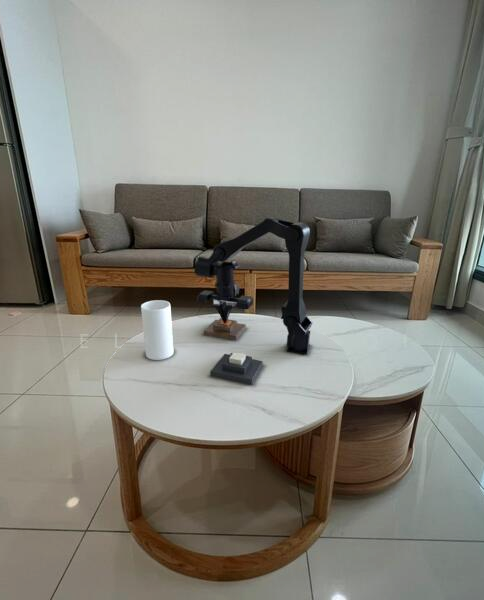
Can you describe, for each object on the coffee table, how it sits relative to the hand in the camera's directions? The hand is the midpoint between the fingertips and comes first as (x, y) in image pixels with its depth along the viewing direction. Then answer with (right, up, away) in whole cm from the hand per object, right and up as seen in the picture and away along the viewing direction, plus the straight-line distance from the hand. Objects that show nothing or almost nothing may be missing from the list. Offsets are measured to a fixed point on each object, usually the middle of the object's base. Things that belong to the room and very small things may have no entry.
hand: (225, 322), depth 113 cm
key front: (+6, -9, -23) cm, 26 cm away
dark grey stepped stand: (+6, -12, -22) cm, 26 cm away
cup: (-19, -9, -14) cm, 25 cm away
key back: (0, -2, +1) cm, 2 cm away
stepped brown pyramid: (0, -4, +1) cm, 4 cm away
